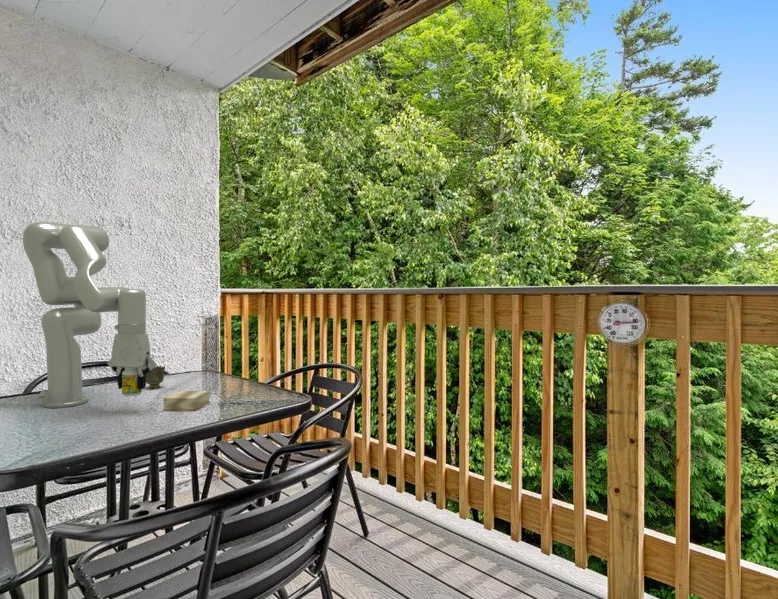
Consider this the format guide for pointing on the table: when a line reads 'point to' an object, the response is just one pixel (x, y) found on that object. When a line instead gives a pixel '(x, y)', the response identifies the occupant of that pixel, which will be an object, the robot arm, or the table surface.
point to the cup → (155, 377)
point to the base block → (186, 401)
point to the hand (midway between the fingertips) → (131, 387)
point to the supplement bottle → (130, 382)
